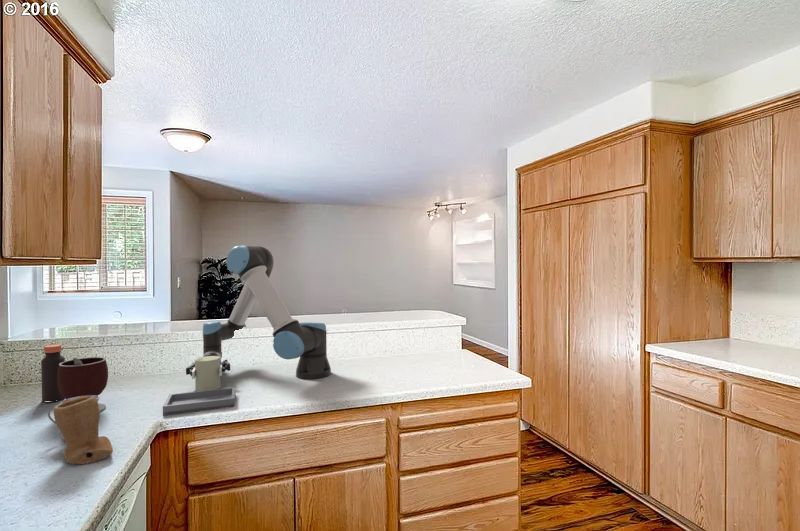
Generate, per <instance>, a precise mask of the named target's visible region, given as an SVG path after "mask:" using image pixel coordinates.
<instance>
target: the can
mask: <svg viewBox="0 0 800 531" xmlns="http://www.w3.org/2000/svg"><path fill="white" fill-rule="evenodd" d="M194 363H195V378H194V379H195V381H194V382H195V385H194V386H195V388H194V390H195V391H204V390H214V389H221V388H222V384H221V376H219V368H220V357H219V356H205V357H203V356H201V357H196V358H195V359H194Z"/></svg>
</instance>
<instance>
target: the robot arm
mask: <svg viewBox="0 0 800 531" xmlns="http://www.w3.org/2000/svg"><path fill="white" fill-rule="evenodd" d="M226 255H227V256H226V263H225V264H226V267H227V269H228V270H229V272H230V273H233V274H235V275H236V274H237V275H238V277H239V279H240V281H241V282H244V285H243V287H242V290H241V291H240V293H239V296H238V298H237V301H236V303H235V305H234V307H233V308H232V311H231V314H230V316H229V318H228V320H227V322H226V323H222V322H221V321H219V320H217V321H216V320H213V321H212V320H211V321H206V322H204V323H203V325H202V339H203V340H202V342H203V343H202V346H203V347H202V349H203V352H202V355H203V356H202V357H205V356H219V357H220V368H219V376H220V377H222V376H223V373H225V372H226V371H228V372H229V371H231V363H230V362H229V361H228V359H224V360H222V358H223V352H222V342H223V341H227V340H231V339H233V338H232V337H233V336H234V331H235V330H239V329H242V328H243V327H246V328H247V325H246V323H247V322H246V321H247V319H248V317H249V315H250V313H251V311H252V310H253V308H254V305H255V303H256V301H257V303H258V304H259V306H260V308H261V310H262V311H263V313H264V314H265V317H266V319H267V320H268V322H269V323H270V325H271V327H272V328H273V332H272V337H273V340H272V343H273V344H272V347H273V350H274V352H275V354H276V355H277V356H278V357H280V358H281V359H284V360H296V359H298V358H299V360H298V363H297V365H296V369H295V376H296V377H297V378H299V379H304V380H313V379H314V380H315V379H322V378H325V377H328V376H330V375H331V374H332V368H331V365H330V362H329V359H328V357H327V356H328V354H327V333H328V332H327V326H326V325H327V324H326V323H324V322H312V321H311V322H309V321H308V322H307V321H305V322H299V320H298V319H294V318H293V317H292V315H291V314H290V312H289V310H288V309H287V306H286V305H285V303H284V302H283V300H282V298H281V296H280V295H279V294H278V292H277V290H276V288H275V287H274V285H273V282H272V281H271V280H270V276H271V275H272V272H273V268H274V256H273V254H272V252H271V251H270V250H269V249H268V248H266V247H263V246H260V245H259V246H258V245H257V246H252V245H250V246H249V245H237V246H233V247H232V248H231V249H230V250H229V251H228V252H227V254H226ZM230 338H231V339H230ZM221 360H222V361H221ZM185 375H189V376H190V377H191V379H192V380H193V379H195V361H194V362H192V363H191V364H190V365H188V366H187V367H186V368H185Z"/></svg>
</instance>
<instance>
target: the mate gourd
mask: <svg viewBox="0 0 800 531" xmlns="http://www.w3.org/2000/svg"><path fill="white" fill-rule="evenodd" d="M108 378H109V367H108V363H107V358H106V357H103V356H102V357H101V356H92V357H91V356H89V357H80V358H77V357H74V358H72V359H68V360H65V361H64V362H62V363H60V364H59V368H58V374H57V384H58V389H59V392H60V394H61V395H62V396H63V397H64V400H66V399H69V398H73V397H78V396H85V395H97V396H99V395H101V394H102V393H103V391H104V390H105V389H106V387H107V385H108V380H109V379H108ZM98 406H99V412H100V413H101V412H103V411H105V410H106V409H107V406H106V404H104V403H98Z"/></svg>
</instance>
